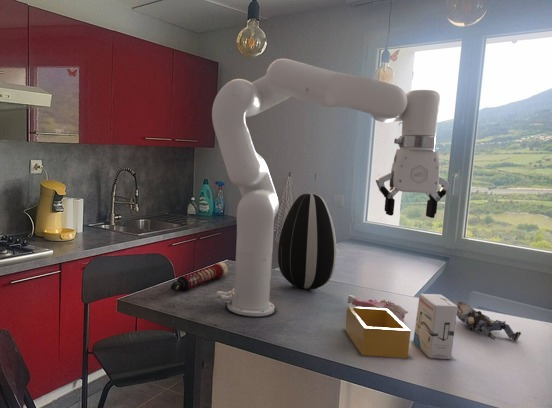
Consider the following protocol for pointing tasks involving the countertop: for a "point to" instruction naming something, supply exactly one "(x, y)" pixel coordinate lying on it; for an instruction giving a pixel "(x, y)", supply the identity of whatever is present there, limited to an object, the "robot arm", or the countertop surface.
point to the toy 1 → (379, 306)
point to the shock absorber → (200, 276)
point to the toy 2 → (482, 321)
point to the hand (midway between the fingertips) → (409, 216)
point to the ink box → (435, 325)
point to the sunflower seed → (307, 243)
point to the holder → (377, 332)
